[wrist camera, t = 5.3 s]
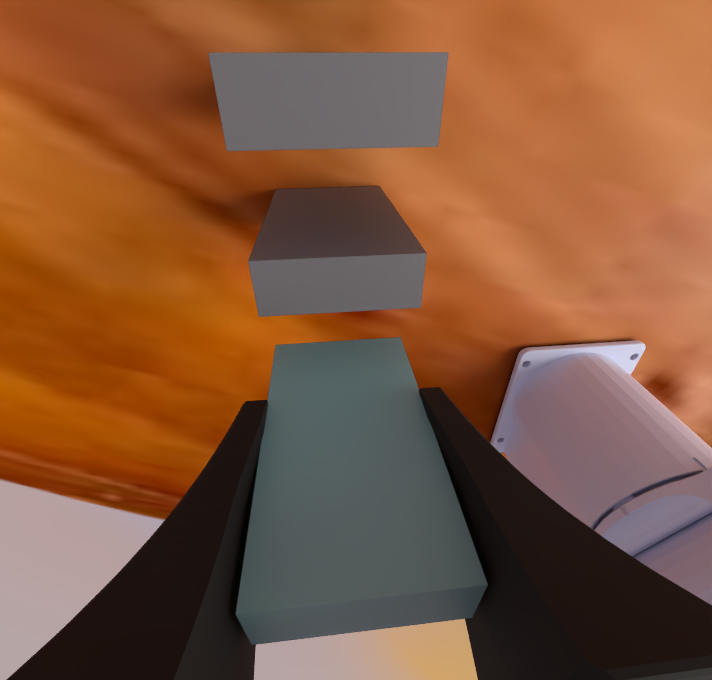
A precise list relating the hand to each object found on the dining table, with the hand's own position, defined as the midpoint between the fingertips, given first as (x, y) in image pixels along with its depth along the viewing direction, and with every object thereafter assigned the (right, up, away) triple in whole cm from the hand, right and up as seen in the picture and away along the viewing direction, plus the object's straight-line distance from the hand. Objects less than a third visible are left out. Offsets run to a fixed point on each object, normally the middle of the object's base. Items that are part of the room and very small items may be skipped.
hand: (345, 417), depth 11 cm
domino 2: (-1, +8, +5) cm, 10 cm away
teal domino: (0, +2, +2) cm, 3 cm away
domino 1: (-1, +12, +3) cm, 12 cm away
